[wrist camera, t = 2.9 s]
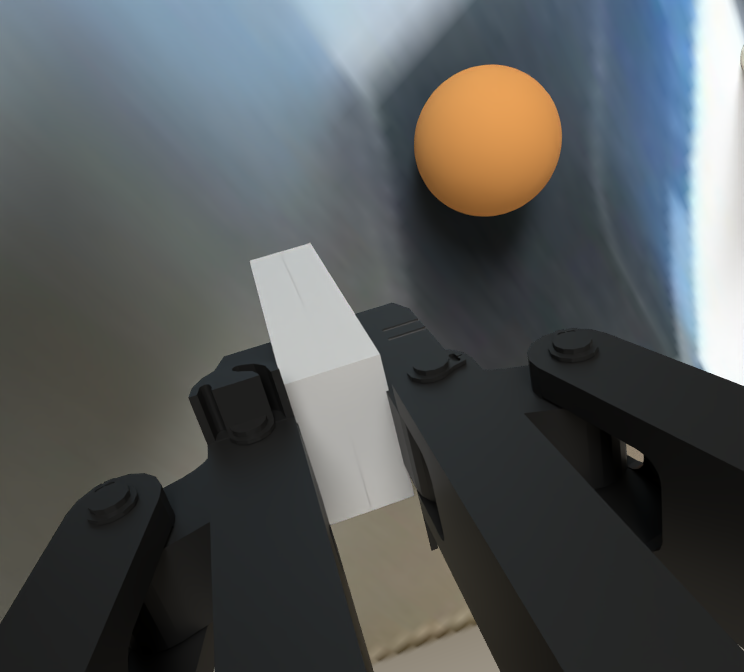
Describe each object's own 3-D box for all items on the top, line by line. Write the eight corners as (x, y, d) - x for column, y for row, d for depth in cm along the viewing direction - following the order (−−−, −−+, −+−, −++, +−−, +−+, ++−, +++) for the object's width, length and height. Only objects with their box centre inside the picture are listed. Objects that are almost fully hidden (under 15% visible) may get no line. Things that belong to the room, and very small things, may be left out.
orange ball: (410, 216, 30) (457, 249, 25) (384, 83, 27) (430, 88, 22) (526, 182, 31) (596, 207, 26) (512, 49, 28) (586, 47, 23)
